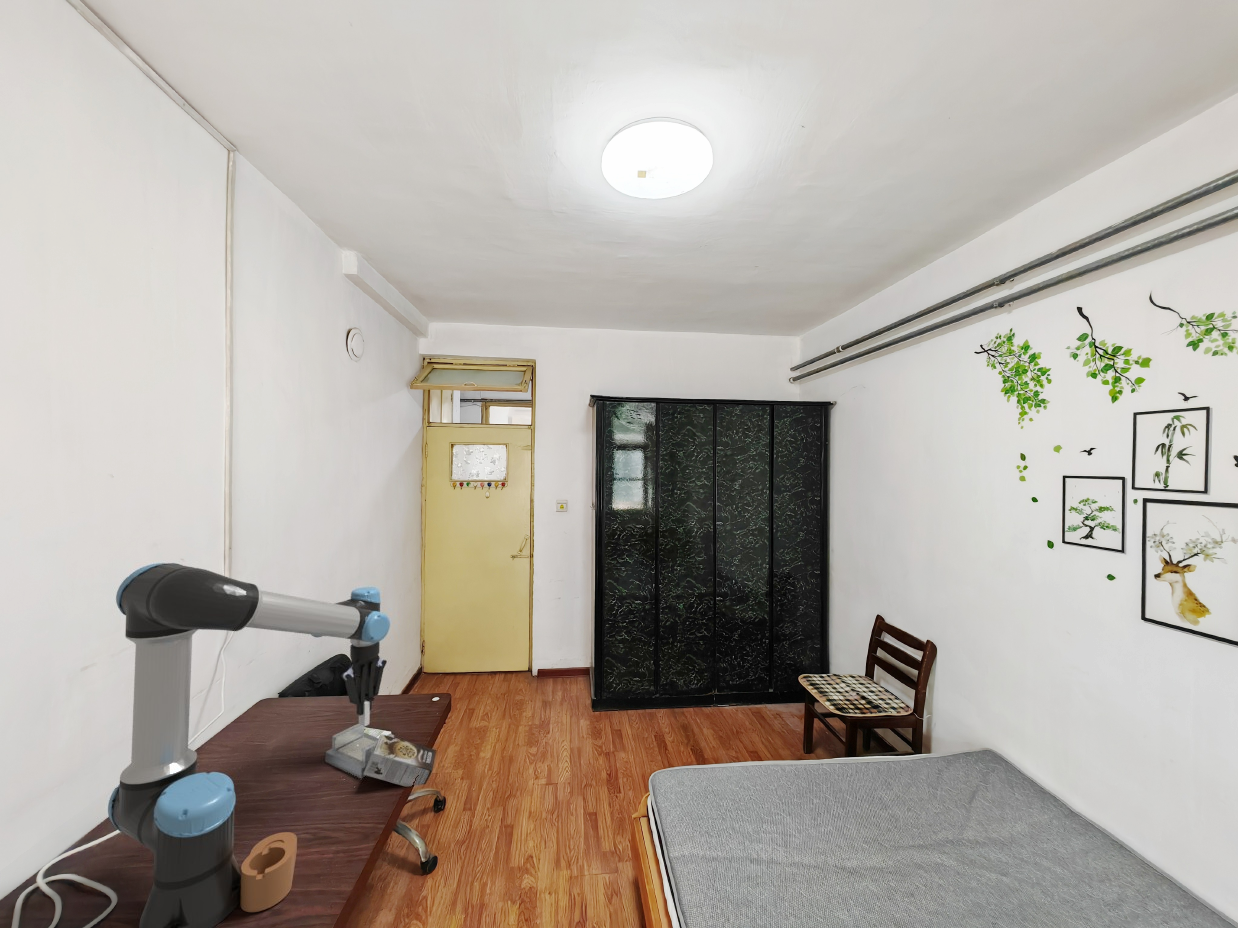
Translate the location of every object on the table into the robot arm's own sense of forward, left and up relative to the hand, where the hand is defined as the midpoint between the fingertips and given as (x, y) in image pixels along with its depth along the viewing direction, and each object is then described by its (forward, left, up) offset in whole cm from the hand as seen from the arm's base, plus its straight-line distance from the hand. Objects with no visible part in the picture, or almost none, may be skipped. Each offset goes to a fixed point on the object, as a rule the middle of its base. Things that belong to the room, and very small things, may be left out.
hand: (364, 723), depth 144 cm
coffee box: (-6, -11, -2) cm, 13 cm away
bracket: (-35, -21, -11) cm, 42 cm away
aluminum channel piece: (0, 0, -10) cm, 10 cm away
